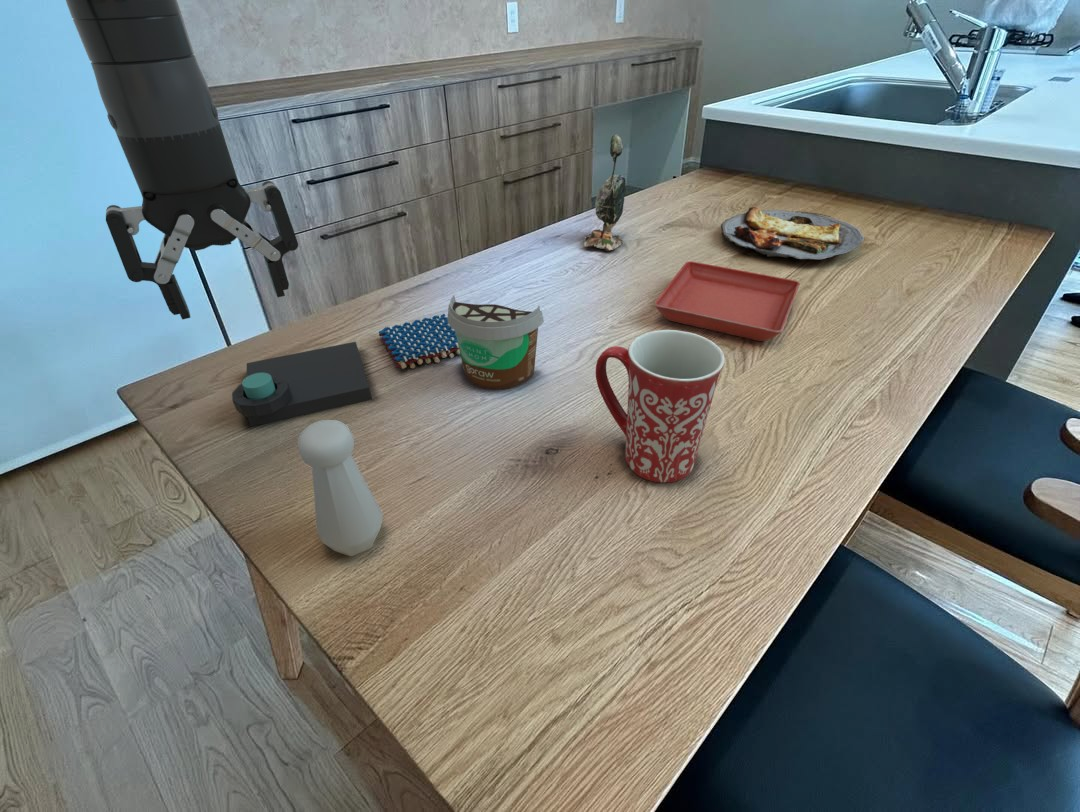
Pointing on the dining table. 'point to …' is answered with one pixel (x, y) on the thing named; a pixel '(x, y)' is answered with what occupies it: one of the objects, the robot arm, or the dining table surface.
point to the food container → (495, 343)
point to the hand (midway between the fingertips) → (234, 304)
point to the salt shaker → (339, 489)
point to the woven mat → (420, 341)
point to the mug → (663, 399)
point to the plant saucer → (728, 300)
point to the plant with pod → (609, 205)
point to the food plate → (791, 233)
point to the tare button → (258, 386)
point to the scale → (306, 384)
